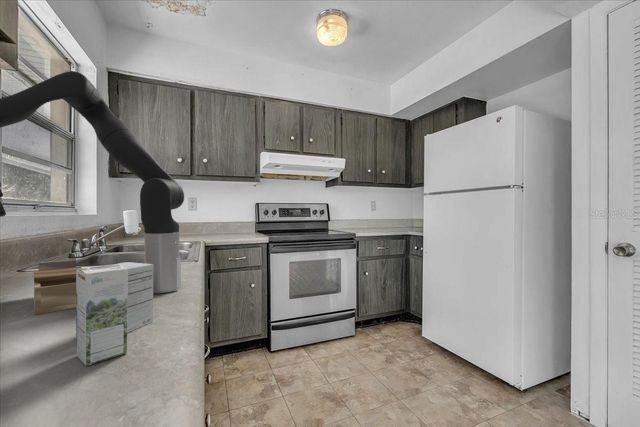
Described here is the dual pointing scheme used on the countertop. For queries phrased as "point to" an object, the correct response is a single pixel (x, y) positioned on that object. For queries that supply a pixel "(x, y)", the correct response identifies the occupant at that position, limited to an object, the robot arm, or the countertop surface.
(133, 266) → the supplement box
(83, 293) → the syrup box
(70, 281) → the box
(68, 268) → the brown wooden block
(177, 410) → the countertop surface
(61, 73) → the robot arm
